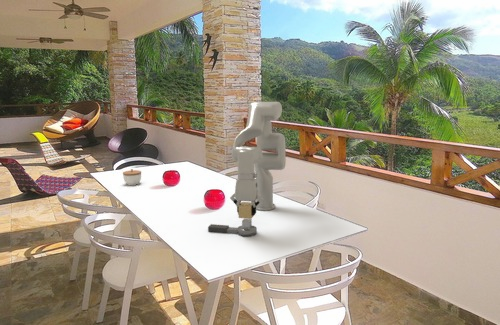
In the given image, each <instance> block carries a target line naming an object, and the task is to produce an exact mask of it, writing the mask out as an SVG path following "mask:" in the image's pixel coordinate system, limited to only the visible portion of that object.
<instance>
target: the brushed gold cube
mask: <svg viewBox="0 0 500 325" xmlns="http://www.w3.org/2000/svg"><path fill="white" fill-rule="evenodd" d="M238 207H239V215H238V218H239V219H253V217H254V216H252V207H253V205H252V202H251V201H241V203H240V204H239V205H238Z"/></svg>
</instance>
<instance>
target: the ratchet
mask: <svg viewBox="0 0 500 325" xmlns="http://www.w3.org/2000/svg"><path fill="white" fill-rule="evenodd" d="M252 219H253V218H252ZM252 219H246V218H242V220H241V225H239V226H238V227H235V226H233V227H231V226H229V225H225V224H215V223H214V224H213V223H211V224H210V225H208V227H207V231H208V233H219V234H235V235H238V236H240V237H244V238H249V237H251V238H252V237H254V236H256V235H257V233H258V231H257V227H256V226H255V225H252V223H253V222H252V221H253V220H252Z"/></svg>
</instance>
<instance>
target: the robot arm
mask: <svg viewBox="0 0 500 325" xmlns="http://www.w3.org/2000/svg"><path fill="white" fill-rule="evenodd" d="M248 108H249V110H248V115H247V120H246V126H245V128H244V129H242V130H241V131H240V132H239V133H238V134H237V135H236V136H235V138H234V140H233V143H232V149H231V159H232V161H233V162H235V163H237V179H236V181H235V190H234V193H233V194H232V195H231V196H230V198H229V199H230V200H231V201H232V202H233V204H235V207H236V212H237V216H239V207H238V205H239V204H240V203H241V202H252V205H253V207H252V216H253V217H254V216H256V214H257V211H272V210H275V209H276V208H277V207H276V204H275V203H274V178H273V177H274V176H273V175H272V173H271V171H270V170H272V171H273V170H274V171H279V170H280V171H282V170H285V168H286V164H287V163H286V161H287V160H286V137H285V135H284V134H283V133H279V132H273V130H272V129H273V128H272V127H273V125H272V124H273V123H272V122H271V121H273V122H274V121H278V119H279V118H281V115H282V112H283V107H282V104H281V102H280V101H254V102H251V103H250V104H249V107H248ZM255 138H256V146H243V144H244V143H246V142H248V141H250V140H253V139H255ZM265 151H268V152H265ZM269 151H276V152H269Z"/></svg>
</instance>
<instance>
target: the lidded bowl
mask: <svg viewBox="0 0 500 325" xmlns="http://www.w3.org/2000/svg"><path fill="white" fill-rule="evenodd" d="M122 175H123V177H122V178H123V181H124V182H125V184H127V186H130V185H132V186H137V185H136V184H138V185H139V183H140V182H141V180H142V170H139V169H138V170H136V169H130V170H126V171H122Z"/></svg>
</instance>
